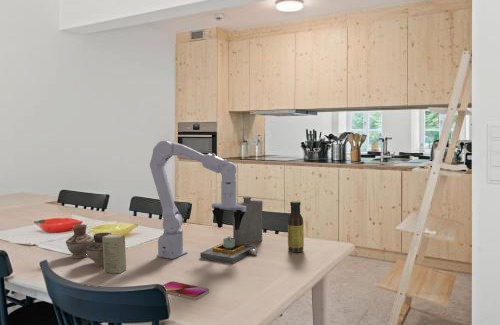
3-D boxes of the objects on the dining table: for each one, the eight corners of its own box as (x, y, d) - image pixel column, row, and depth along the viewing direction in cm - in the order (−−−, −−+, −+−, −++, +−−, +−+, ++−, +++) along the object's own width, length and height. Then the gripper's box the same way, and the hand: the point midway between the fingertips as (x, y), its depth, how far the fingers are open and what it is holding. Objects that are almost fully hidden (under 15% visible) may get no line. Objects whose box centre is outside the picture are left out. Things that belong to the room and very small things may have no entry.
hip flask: (236, 247, 168) (236, 199, 166) (230, 245, 171) (230, 198, 169) (263, 240, 179) (264, 195, 177) (257, 238, 182) (257, 194, 180)
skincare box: (126, 269, 139) (126, 234, 138) (120, 273, 135) (119, 237, 134) (109, 268, 140) (108, 233, 139) (102, 272, 136) (101, 236, 135)
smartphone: (171, 280, 127) (210, 289, 120) (171, 283, 127) (210, 292, 120) (155, 288, 121) (195, 297, 113) (155, 291, 121) (195, 301, 113)
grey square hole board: (239, 264, 144) (239, 256, 144) (200, 258, 152) (200, 250, 152) (262, 252, 160) (262, 244, 160) (225, 246, 168) (225, 239, 168)
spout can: (231, 256, 154) (231, 238, 154) (221, 255, 156) (221, 237, 156) (236, 253, 158) (236, 235, 158) (226, 252, 160) (226, 234, 160)
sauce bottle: (306, 251, 161) (307, 202, 160) (294, 254, 158) (295, 203, 156) (296, 247, 167) (296, 199, 165) (284, 250, 163) (284, 201, 162)
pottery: (85, 251, 162) (85, 221, 161) (126, 262, 147) (125, 230, 146) (58, 258, 152) (57, 226, 152) (98, 271, 138) (97, 236, 137)
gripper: (250, 193, 156) (250, 228, 156) (218, 190, 162) (218, 224, 163) (241, 195, 149) (241, 232, 150) (208, 193, 156) (208, 227, 157)
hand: (228, 228), depth 156 cm, fingers open, 7 cm apart
